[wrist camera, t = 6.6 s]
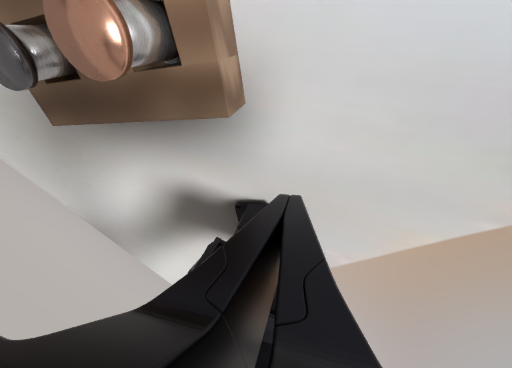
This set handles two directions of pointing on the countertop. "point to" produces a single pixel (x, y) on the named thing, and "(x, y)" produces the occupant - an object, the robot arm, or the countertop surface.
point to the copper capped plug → (110, 34)
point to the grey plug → (30, 56)
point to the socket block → (150, 72)
